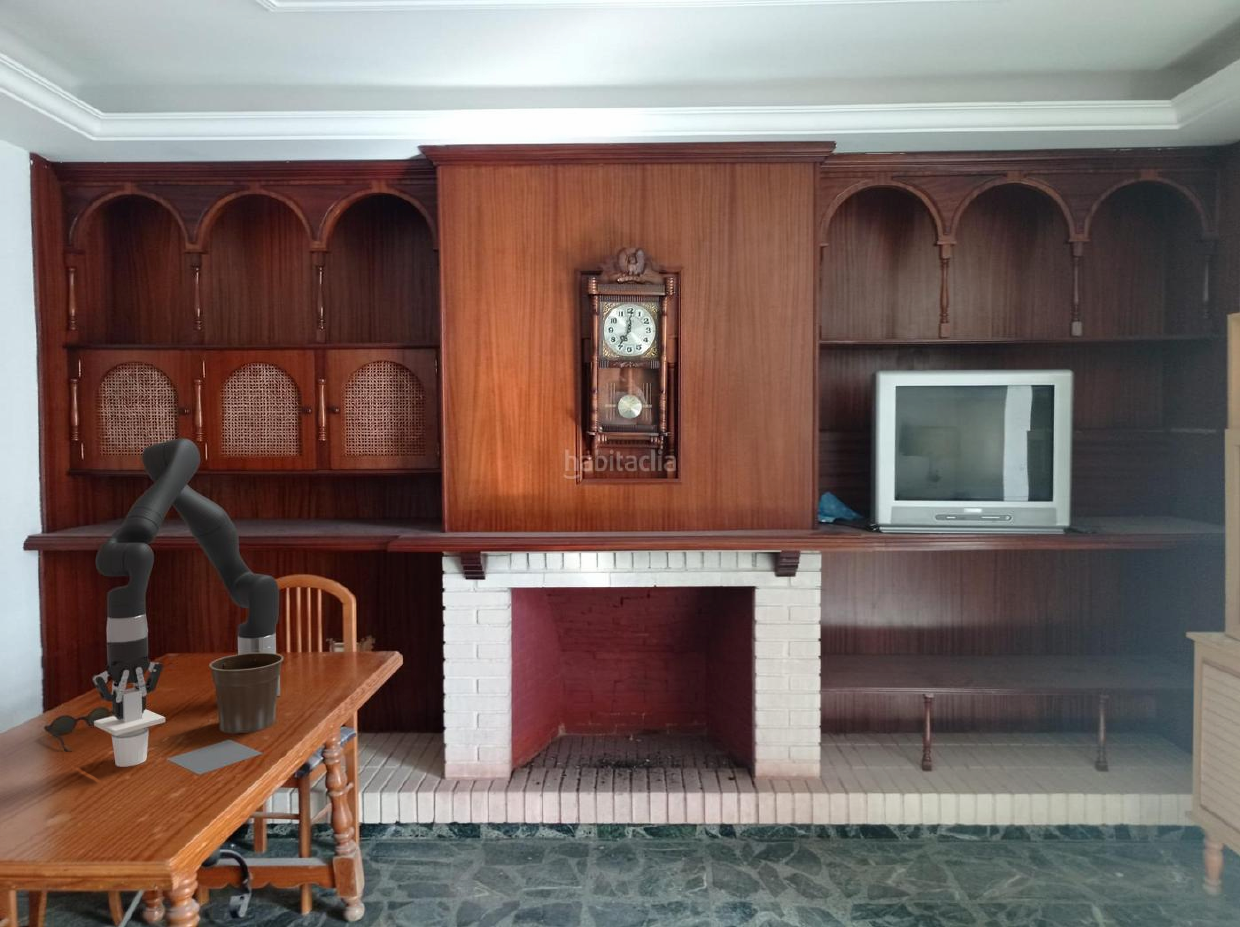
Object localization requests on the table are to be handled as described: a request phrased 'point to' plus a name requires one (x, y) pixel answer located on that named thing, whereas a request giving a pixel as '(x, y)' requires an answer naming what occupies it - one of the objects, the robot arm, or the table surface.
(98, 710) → the eyeglasses
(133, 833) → the table surface
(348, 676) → the table surface
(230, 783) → the table surface
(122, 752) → the shot glass
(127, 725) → the lid
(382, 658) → the table surface
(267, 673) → the plant pot
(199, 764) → the mat
